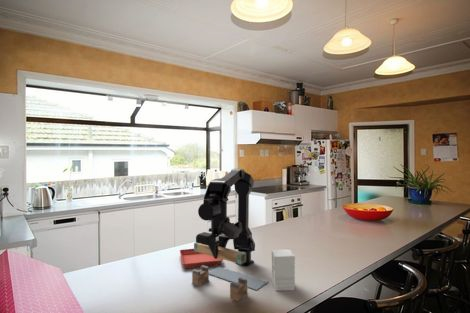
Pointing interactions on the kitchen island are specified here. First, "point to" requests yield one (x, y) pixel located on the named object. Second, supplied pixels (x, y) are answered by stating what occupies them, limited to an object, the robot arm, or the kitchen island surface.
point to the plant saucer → (197, 259)
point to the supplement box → (283, 270)
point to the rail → (222, 253)
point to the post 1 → (200, 275)
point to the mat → (233, 277)
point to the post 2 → (238, 289)
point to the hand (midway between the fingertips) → (218, 257)
